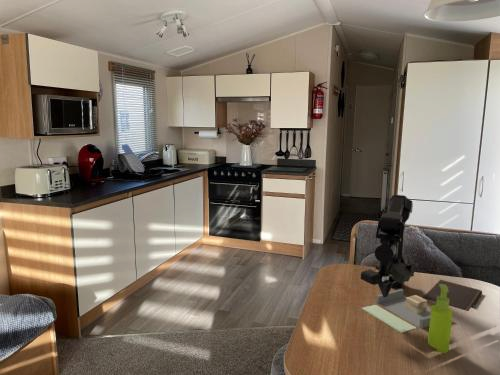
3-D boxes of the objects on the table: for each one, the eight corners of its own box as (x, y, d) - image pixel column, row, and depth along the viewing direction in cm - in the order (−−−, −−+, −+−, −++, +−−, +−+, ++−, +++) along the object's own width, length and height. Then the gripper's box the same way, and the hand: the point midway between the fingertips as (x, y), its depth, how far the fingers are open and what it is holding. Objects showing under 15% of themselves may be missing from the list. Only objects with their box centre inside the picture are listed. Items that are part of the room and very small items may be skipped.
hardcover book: (422, 302, 148) (423, 297, 148) (440, 284, 165) (440, 279, 164) (468, 316, 137) (469, 310, 137) (481, 295, 154) (482, 290, 154)
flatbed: (400, 299, 149) (401, 288, 148) (447, 323, 131) (448, 311, 131) (376, 306, 143) (376, 295, 142) (421, 332, 125) (422, 320, 125)
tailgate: (375, 304, 141) (361, 307, 138) (416, 327, 125) (401, 332, 122) (375, 307, 141) (361, 310, 138) (416, 330, 126) (401, 334, 122)
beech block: (414, 304, 141) (415, 294, 141) (426, 310, 137) (427, 300, 136) (405, 307, 139) (406, 297, 138) (416, 313, 135) (417, 303, 134)
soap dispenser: (446, 343, 119) (452, 284, 116) (449, 355, 113) (457, 293, 110) (425, 339, 121) (432, 281, 118) (428, 351, 115) (434, 290, 111)
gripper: (387, 265, 115) (383, 313, 118) (428, 256, 124) (423, 301, 126) (360, 254, 125) (357, 298, 128) (400, 246, 133) (396, 288, 136)
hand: (384, 296), depth 129 cm, fingers closed
